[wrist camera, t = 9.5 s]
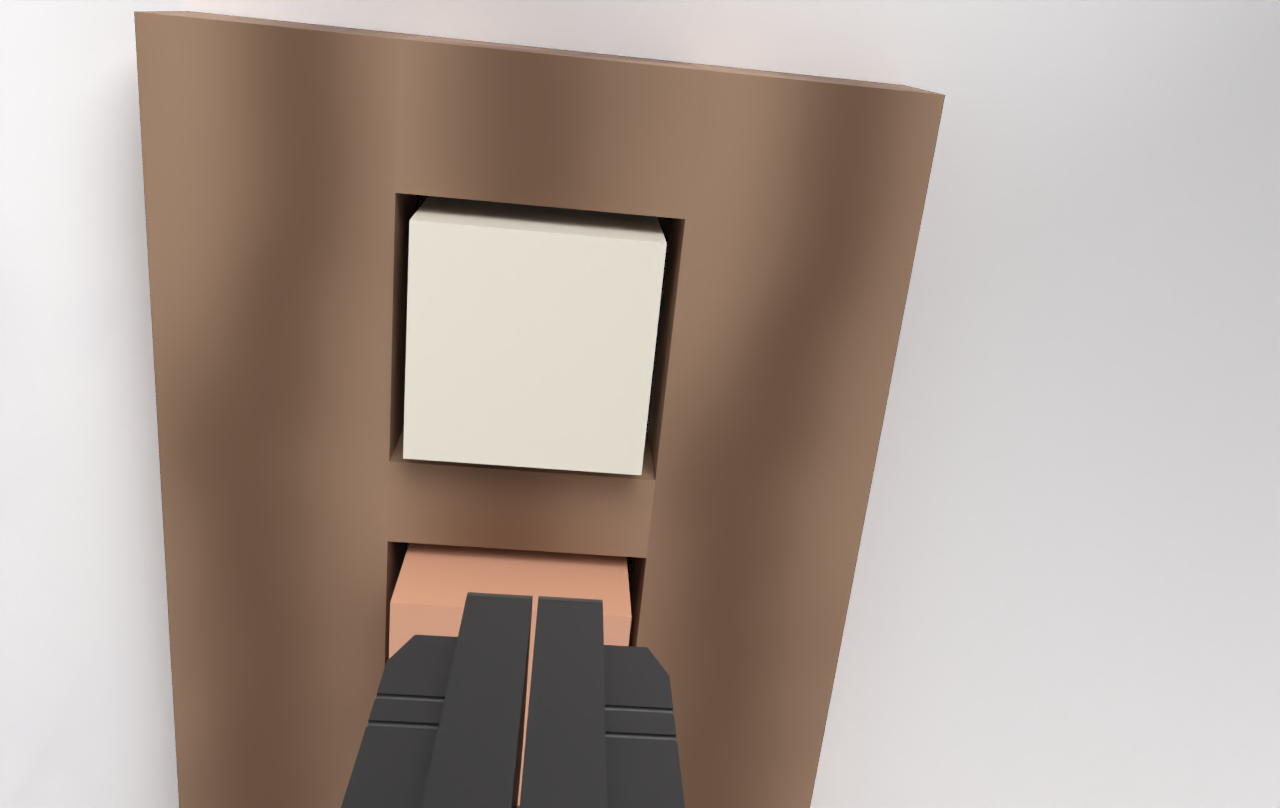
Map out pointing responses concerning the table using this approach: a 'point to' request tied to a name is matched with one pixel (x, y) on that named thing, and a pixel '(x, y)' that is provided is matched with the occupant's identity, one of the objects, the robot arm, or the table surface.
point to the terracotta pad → (502, 590)
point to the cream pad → (530, 335)
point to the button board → (494, 494)
